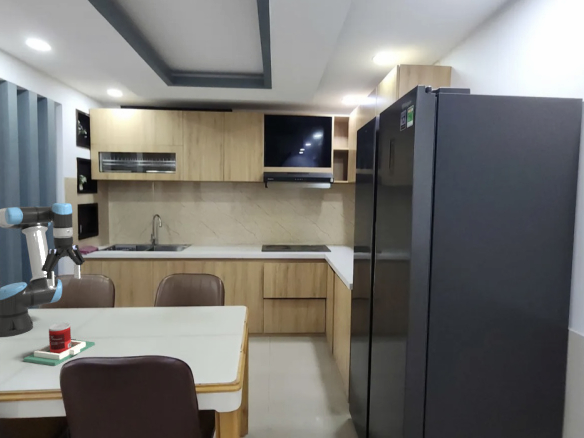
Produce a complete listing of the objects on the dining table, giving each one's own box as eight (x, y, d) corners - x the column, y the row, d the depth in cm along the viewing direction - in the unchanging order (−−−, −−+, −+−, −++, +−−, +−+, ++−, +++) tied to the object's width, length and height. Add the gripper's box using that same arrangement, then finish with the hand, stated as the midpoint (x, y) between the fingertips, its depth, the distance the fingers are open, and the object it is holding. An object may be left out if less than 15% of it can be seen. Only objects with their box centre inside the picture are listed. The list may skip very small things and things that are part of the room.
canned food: (67, 345, 153) (66, 321, 153) (74, 350, 148) (73, 325, 148) (47, 351, 147) (46, 326, 147) (53, 357, 142) (52, 331, 142)
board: (23, 361, 141) (23, 353, 141) (66, 341, 161) (65, 334, 160) (58, 366, 137) (57, 358, 137) (97, 345, 157) (97, 338, 156)
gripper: (43, 241, 146) (45, 290, 148) (92, 233, 170) (93, 276, 172) (30, 239, 148) (32, 288, 150) (79, 233, 172) (81, 274, 174)
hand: (64, 281), depth 161 cm, fingers open, 13 cm apart
